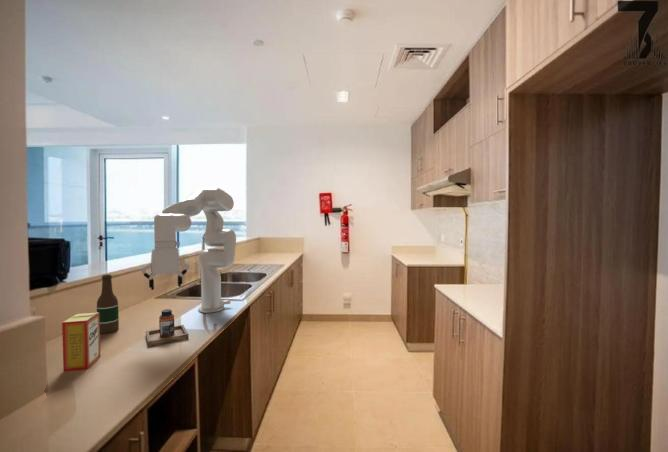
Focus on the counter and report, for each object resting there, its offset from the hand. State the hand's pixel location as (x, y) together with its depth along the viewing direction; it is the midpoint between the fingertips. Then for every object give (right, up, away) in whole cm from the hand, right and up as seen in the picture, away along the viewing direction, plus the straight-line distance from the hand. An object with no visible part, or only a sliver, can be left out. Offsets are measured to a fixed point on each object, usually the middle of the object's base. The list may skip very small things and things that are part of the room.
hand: (166, 287), depth 129 cm
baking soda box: (-16, -21, -22) cm, 35 cm away
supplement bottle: (0, -20, +1) cm, 20 cm away
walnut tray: (0, -20, +1) cm, 20 cm away
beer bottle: (-29, -20, +8) cm, 36 cm away
